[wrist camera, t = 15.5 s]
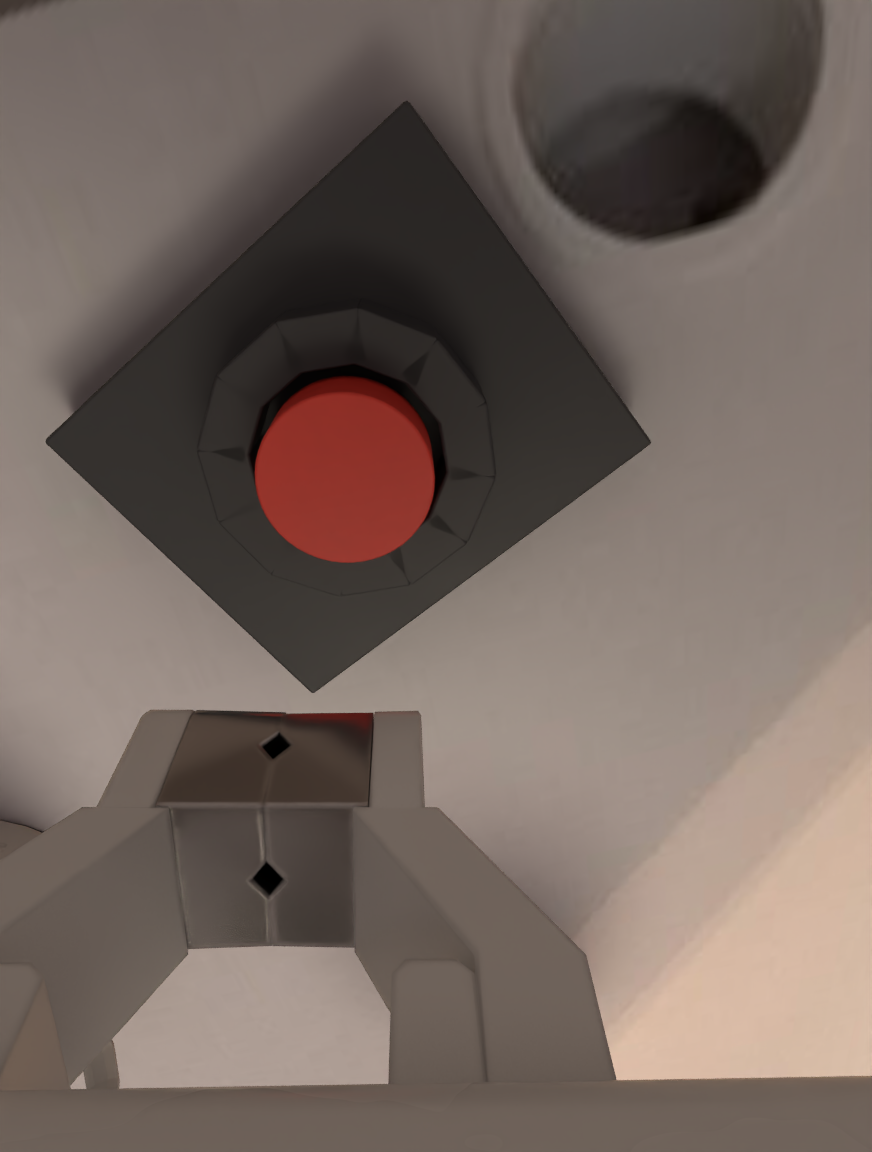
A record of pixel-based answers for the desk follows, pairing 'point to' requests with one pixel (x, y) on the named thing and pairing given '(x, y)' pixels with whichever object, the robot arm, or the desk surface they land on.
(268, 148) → the desk surface
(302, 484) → the button
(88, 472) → the button box
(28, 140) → the desk surface
